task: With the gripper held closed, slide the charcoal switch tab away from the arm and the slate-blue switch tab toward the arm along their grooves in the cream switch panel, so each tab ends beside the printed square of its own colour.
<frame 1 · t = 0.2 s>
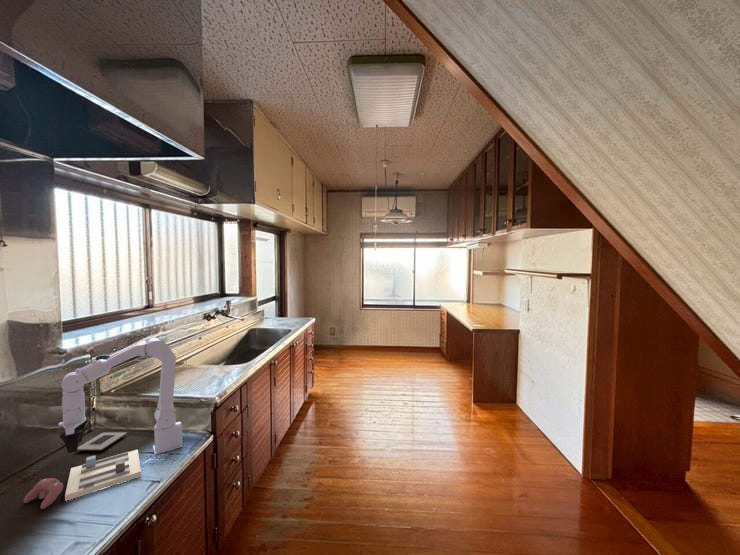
hand: (75, 446, 113), 10 cm above the worktop, tool pointing down, fingers open, 7 cm apart
charcoal tab: (120, 466, 111), point 4 cm above the worktop, slide at 0.0 cm
slate tab: (91, 462, 114), point 4 cm above the worktop, slide at 8.0 cm
video game controller: (44, 501, 101), on the worktop
switch panel: (105, 475, 113), on the worktop
electrical outlet: (102, 445, 134), on the worktop
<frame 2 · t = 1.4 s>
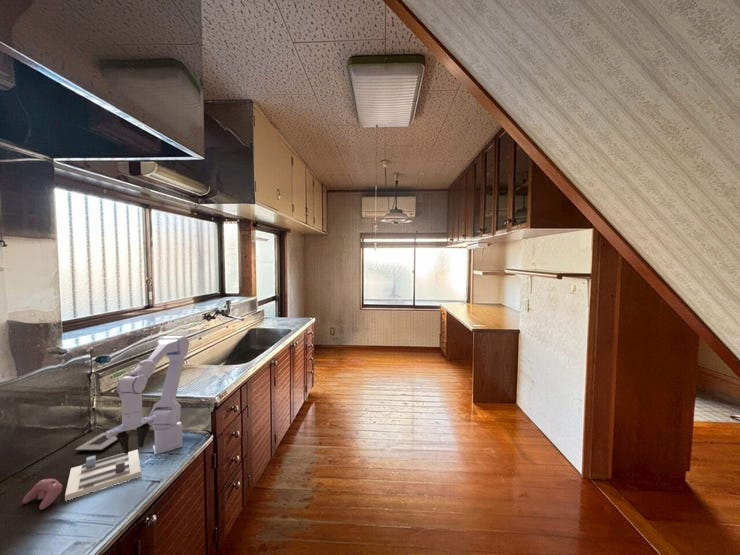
hand: (133, 449, 114), 8 cm above the worktop, tool pointing down, fingers open, 4 cm apart
nothing on the worktop moved.
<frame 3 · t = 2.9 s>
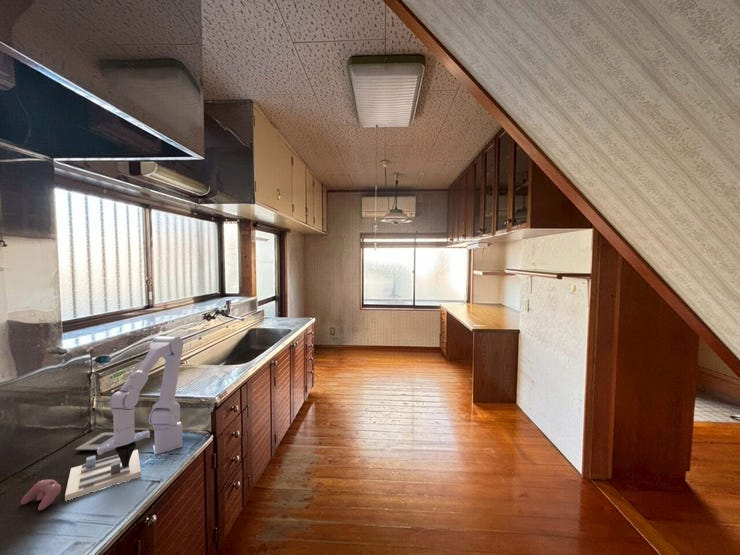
hand: (125, 465, 112), 4 cm above the worktop, tool pointing down, fingers closed
charcoal tab: (115, 467, 111), point 4 cm above the worktop, slide at 1.3 cm, touching gripper
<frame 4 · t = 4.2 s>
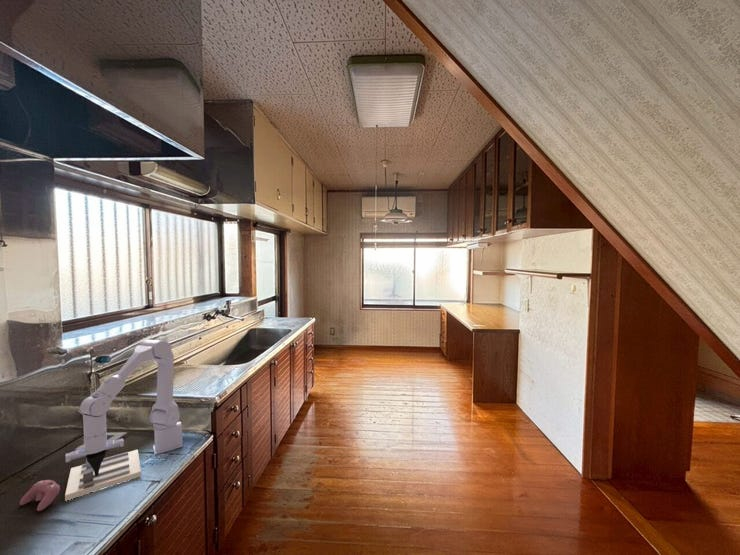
hand: (96, 474, 108), 4 cm above the worktop, tool pointing down, fingers closed
charcoal tab: (88, 476, 106), point 4 cm above the worktop, slide at 8.2 cm, touching gripper
everything else where it was.
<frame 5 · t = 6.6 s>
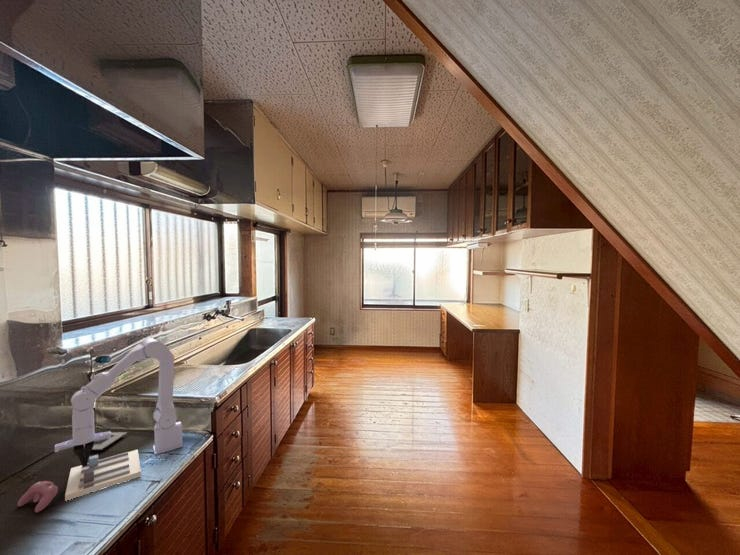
hand: (84, 464, 113), 4 cm above the worktop, tool pointing down, fingers closed
charcoal tab: (89, 475, 106), point 4 cm above the worktop, slide at 8.1 cm
slate tab: (93, 461, 115), point 4 cm above the worktop, slide at 7.3 cm, touching gripper
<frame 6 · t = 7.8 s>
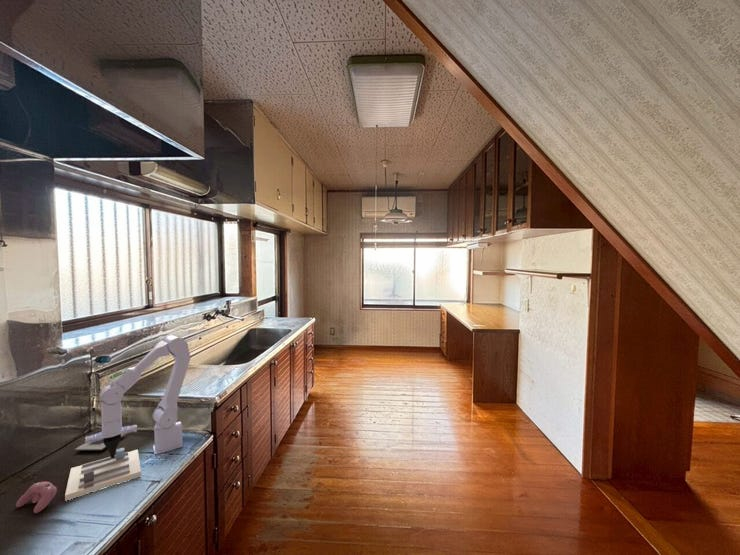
hand: (112, 456, 118), 4 cm above the worktop, tool pointing down, fingers closed
slate tab: (120, 453, 119), point 4 cm above the worktop, slide at -0.1 cm, touching gripper
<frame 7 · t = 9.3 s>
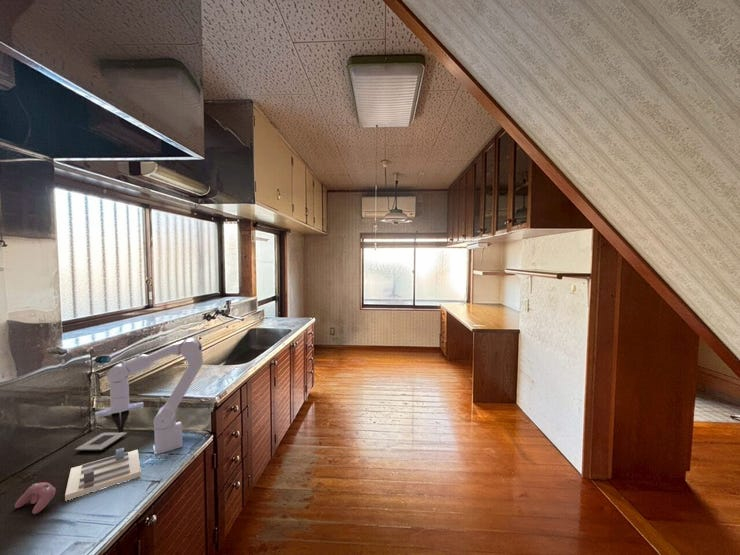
hand: (120, 431, 125), 9 cm above the worktop, tool pointing down, fingers closed
slate tab: (119, 453, 119), point 4 cm above the worktop, slide at -0.1 cm
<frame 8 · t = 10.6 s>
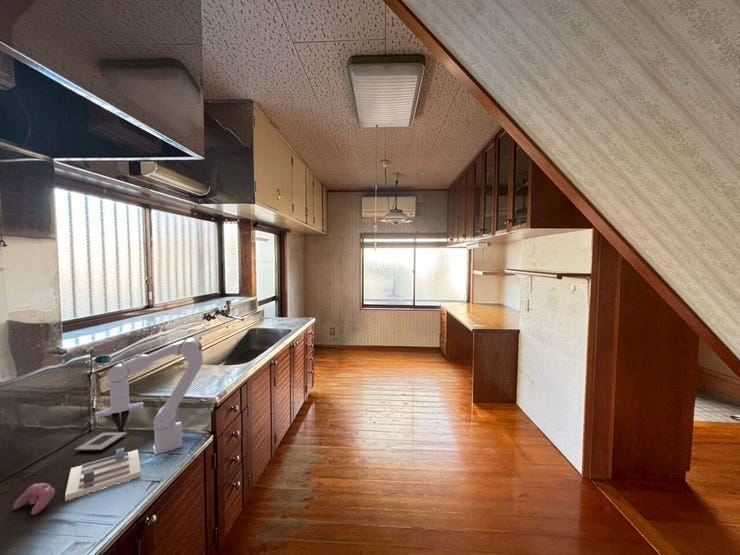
hand: (120, 431, 125), 9 cm above the worktop, tool pointing down, fingers closed
at the end: charcoal tab slide at 8.1 cm; slate tab slide at -0.1 cm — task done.
